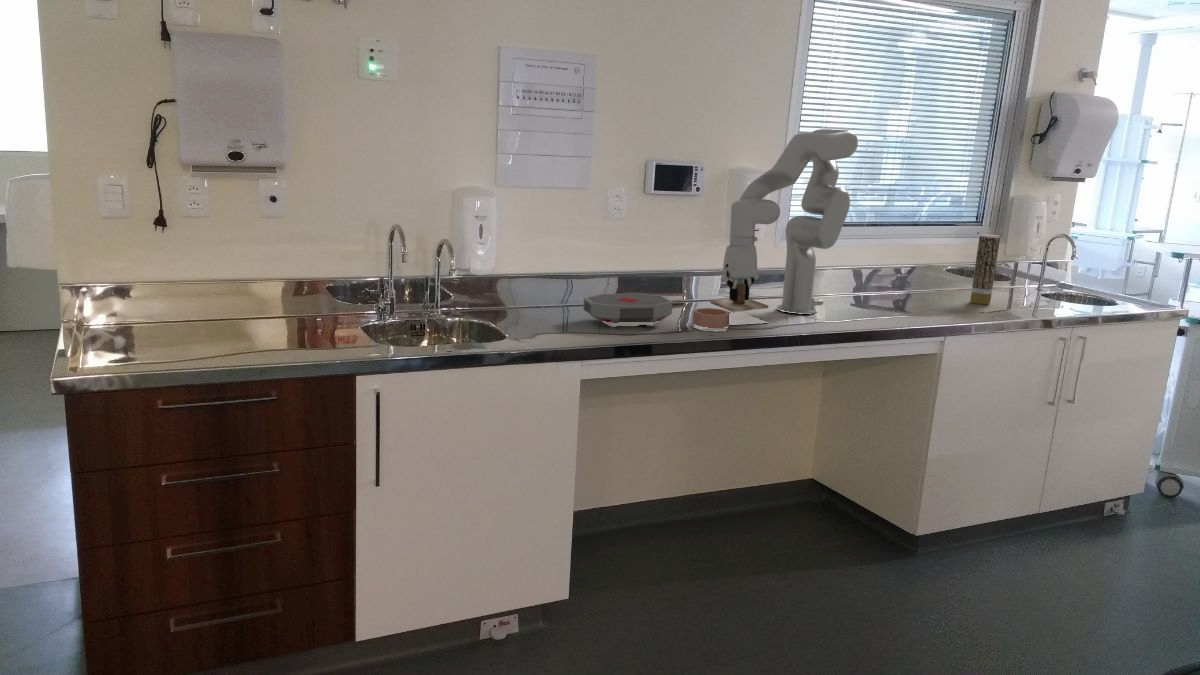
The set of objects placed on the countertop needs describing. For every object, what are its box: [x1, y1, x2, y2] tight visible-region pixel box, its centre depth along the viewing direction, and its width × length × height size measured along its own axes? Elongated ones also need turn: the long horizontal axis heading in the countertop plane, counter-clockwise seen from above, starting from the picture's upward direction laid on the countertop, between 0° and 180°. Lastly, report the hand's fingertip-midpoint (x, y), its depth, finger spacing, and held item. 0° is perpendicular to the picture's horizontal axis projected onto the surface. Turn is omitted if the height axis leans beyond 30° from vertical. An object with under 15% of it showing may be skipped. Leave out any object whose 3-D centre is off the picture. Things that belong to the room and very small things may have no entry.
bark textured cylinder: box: [969, 233, 1001, 306], centre depth 311 cm, size 7×7×25 cm
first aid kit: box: [582, 293, 673, 323], centre depth 257 cm, size 18×8×25 cm
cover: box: [709, 282, 769, 312], centre depth 268 cm, size 13×13×7 cm
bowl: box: [692, 307, 731, 328], centre depth 256 cm, size 10×10×5 cm
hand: (739, 299), depth 269 cm, fingers closed on cover, 3 cm apart
